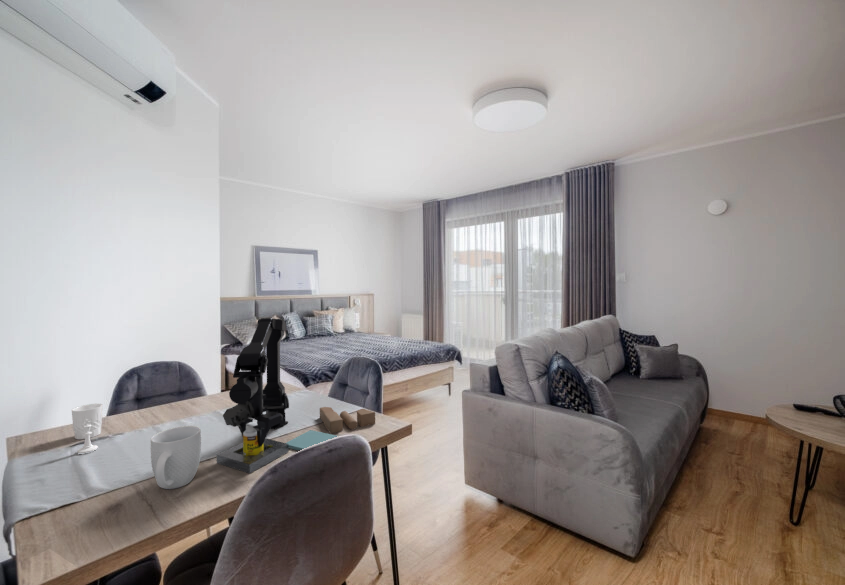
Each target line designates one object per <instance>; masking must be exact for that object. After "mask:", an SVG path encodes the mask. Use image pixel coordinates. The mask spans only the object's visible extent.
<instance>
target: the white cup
mask: <svg viewBox="0 0 845 585" xmlns="http://www.w3.org/2000/svg"><path fill="white" fill-rule="evenodd" d="M71 417H72V418H71V419H72V428H73V432H74V440H85V435H83V433H85V431H84V429H83V426H85V425H86V424H83V422H86V420H87V419H88V421H91V422H90V423H88V424H89V425H91V428H90V432H92V433H91V434H89V435H90V439H91V438H95V437H96V436H99V435H101V433H102V424H103V404H102V403H89V404H83V405H80V406H76V407H74V408H72V409H71Z"/></svg>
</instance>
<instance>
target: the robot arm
mask: <svg viewBox="0 0 845 585" xmlns="http://www.w3.org/2000/svg"><path fill="white" fill-rule="evenodd" d="M286 329H287V323H286V321H285V320H283V319H282V318H273V317H260V318H258V319H257V326H256V328H255V330H254V333H253V336H252V338H251V341H250V342H249V344H248V345H247V346H244V348H242V350H241V352H240V353H239V354H238V355H237V358H236V363H235V366H234V370H233V374H232V375H233V376H232V378H233V379H236V383H235V384H233V386H231V388H230V390H229V392H228V393H229V394H228V395H229V398H230V400H231V401H232V402H233V403H235V404H236V405H234V406H232V407H229V408H227V409H225V411H224V413H223V414H222V418H223V420H224V422H225V425H226V426H232V427H237V428H238V429H239V431H240V433H241V434H240V435H241V437H242V438H243V432H244V431H245V430H246V424H248V423H250V422H254V421H256V422H257V425H256V426H254V427H253V428H254V429H256V430H257V439H258V446H262V445H263V443H264V440H265V438H267V436H268V433H269V432H270V430H271V429H274V430H275V429H278V428H280V427H283V426H284V425H287V424H288V423H289V421H286V410H287V409H289V408H290V402H289V401H290V400H289V398H288V395H287V393H286V388H285V386H284V384H283V383H282V381H281V341H282V339H283V338H284V336H285V332H286V331H287V330H286ZM265 350H266V351H265ZM265 373H266V384H265V386H264V382H263V379H264V377H263V375H264V374H265Z"/></svg>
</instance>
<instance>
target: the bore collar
mask: <svg viewBox="0 0 845 585" xmlns="http://www.w3.org/2000/svg"><path fill="white" fill-rule="evenodd" d="M263 444H264V451H263V452H261V453H259V454H257V455H255V456H253V457H252V458H251V457H248V456H244V455H243V442H242V443H241V442H240V443H239V444H236V445H235V446H232V447H230V448H227V449H226V450H224V451H222V452H219V453H217V454H216V464H219V465H222V466H225V467H229V468H232V469H235V470H237V471H241V472H244V473H248V474H251V473H253V472H255V471H257V470H258V469H260V468H262V467H264V466H266V465H267V464H270V463H271V462H273V461H275V460H276V459H279V458H280V457H282V456H284V455H285V454H288V453H289V449H290V448H289V445H288V444H287V443H286V442H282V441H279V440H274V439H270V438H267V437H266V438H265V440H264V443H263Z"/></svg>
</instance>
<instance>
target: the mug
mask: <svg viewBox="0 0 845 585" xmlns="http://www.w3.org/2000/svg"><path fill="white" fill-rule="evenodd" d="M201 433H202V432H201V428H200V427H199V426H197V425H184V426H183V425H182V426H175V427H172V428H167V429H164V430H161V431H160V432H157V433H155V434H154V435H152V436H151V438H150V460H151V462H150V463H151V468H152V473H153V475H154V478H155V480H156V484H157V486H158V487H160V488H162V489H165V490H174V489H179V488H181V487H184V486H186V485H187V484H189V483H191V481H192V480H193V479H194V477H195V476H196V473H197V471H198V469H199V465H200V462H201V455H202V434H201Z"/></svg>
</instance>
